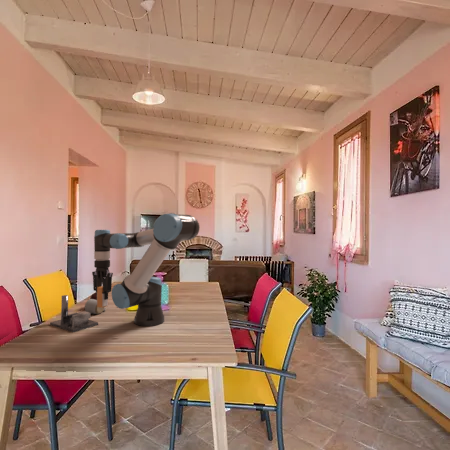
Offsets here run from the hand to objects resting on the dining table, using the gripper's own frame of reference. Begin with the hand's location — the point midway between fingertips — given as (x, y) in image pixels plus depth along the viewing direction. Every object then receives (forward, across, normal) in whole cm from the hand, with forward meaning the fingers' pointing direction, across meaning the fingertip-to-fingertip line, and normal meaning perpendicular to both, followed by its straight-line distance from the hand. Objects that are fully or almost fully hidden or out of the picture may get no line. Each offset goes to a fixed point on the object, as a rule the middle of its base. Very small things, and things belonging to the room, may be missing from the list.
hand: (102, 305), depth 156 cm
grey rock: (+7, -1, +11) cm, 13 cm away
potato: (+8, +25, -16) cm, 31 cm away
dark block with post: (+8, +7, +11) cm, 15 cm away
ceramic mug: (+8, +16, -8) cm, 20 cm away
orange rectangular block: (+1, 0, 0) cm, 1 cm away
